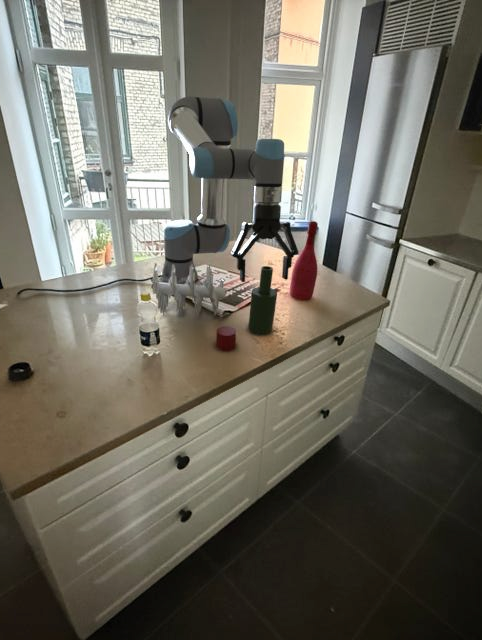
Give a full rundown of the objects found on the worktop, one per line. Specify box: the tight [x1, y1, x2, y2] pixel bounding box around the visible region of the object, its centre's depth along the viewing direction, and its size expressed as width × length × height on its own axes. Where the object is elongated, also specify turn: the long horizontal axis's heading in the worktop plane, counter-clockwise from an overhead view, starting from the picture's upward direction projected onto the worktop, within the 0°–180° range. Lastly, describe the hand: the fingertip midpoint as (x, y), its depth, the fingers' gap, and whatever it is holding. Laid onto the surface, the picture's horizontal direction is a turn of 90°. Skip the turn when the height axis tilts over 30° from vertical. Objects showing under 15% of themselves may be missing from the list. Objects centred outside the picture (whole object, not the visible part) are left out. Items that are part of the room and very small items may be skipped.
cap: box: [215, 325, 237, 352], centre depth 116 cm, size 6×6×6 cm
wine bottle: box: [289, 220, 318, 301], centre depth 144 cm, size 10×10×30 cm
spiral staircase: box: [152, 262, 226, 317], centre depth 129 cm, size 18×18×25 cm
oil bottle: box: [247, 265, 278, 336], centre depth 121 cm, size 8×8×22 cm
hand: (263, 279), depth 112 cm, fingers open, 13 cm apart
